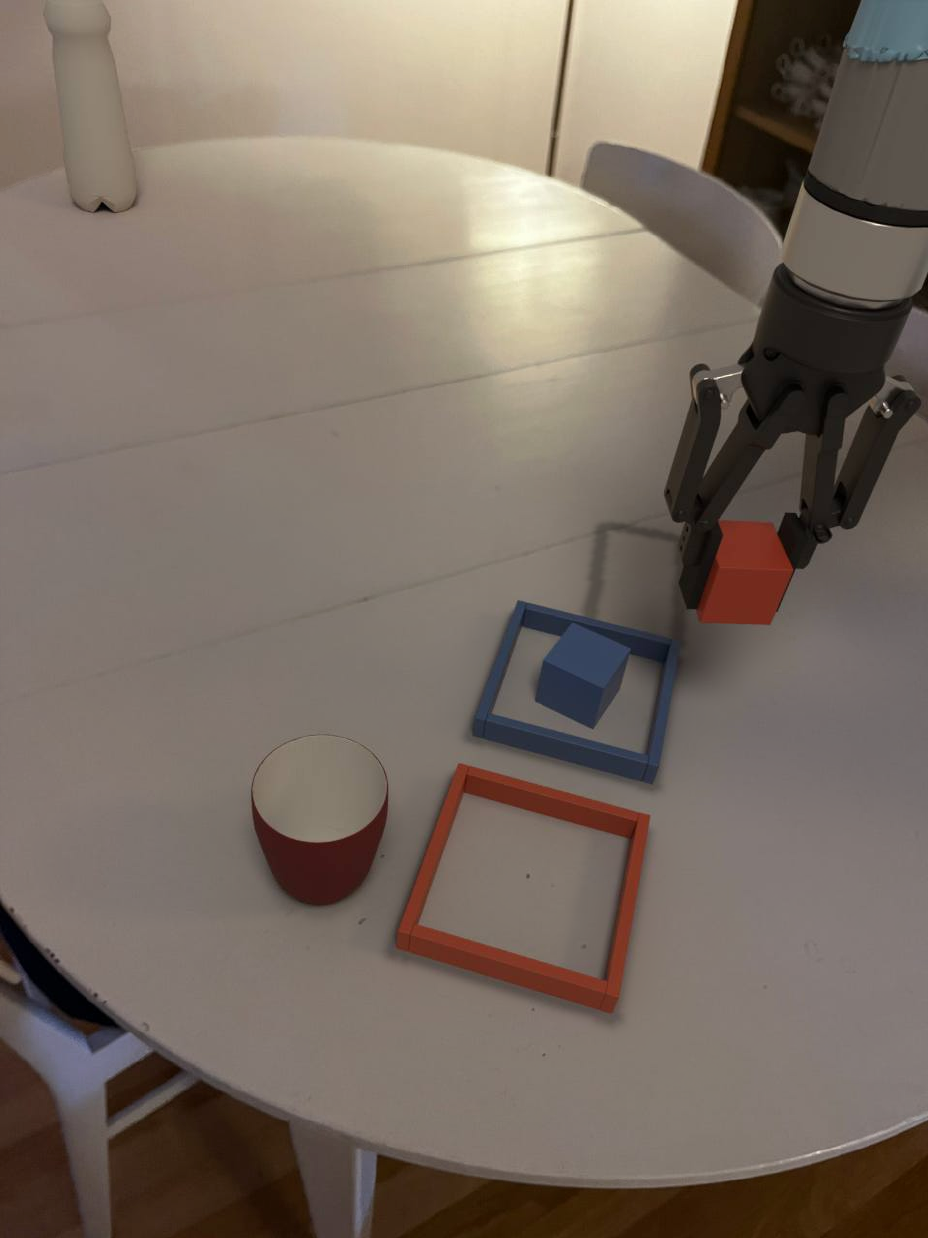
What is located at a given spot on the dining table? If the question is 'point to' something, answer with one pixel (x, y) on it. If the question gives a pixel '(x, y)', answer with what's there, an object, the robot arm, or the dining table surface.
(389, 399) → the dining table surface
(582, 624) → the blue square frame
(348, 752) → the mug
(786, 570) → the red block
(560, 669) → the blue block
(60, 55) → the bottle
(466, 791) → the red tray
